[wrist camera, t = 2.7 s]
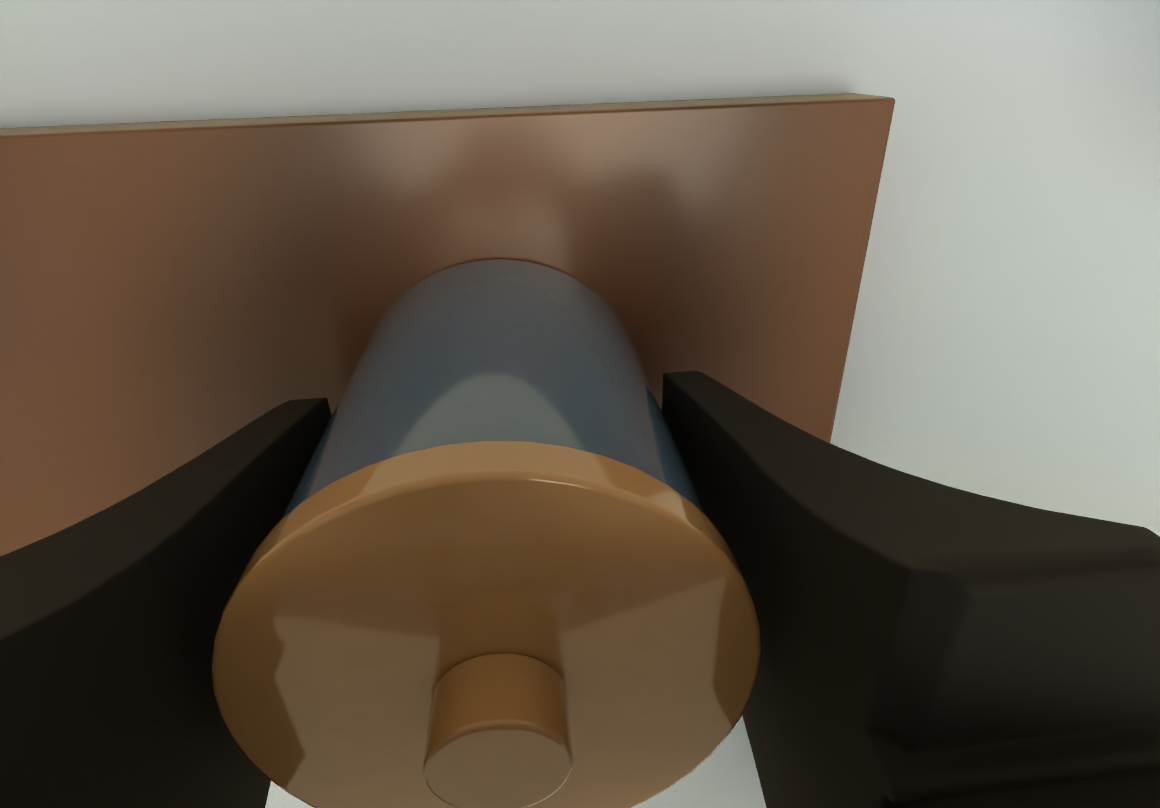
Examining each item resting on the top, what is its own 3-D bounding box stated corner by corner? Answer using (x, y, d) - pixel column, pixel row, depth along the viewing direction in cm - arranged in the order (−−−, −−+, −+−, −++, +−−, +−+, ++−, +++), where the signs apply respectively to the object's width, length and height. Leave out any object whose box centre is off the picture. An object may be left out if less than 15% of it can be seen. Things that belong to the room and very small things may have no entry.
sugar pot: (678, 448, 14) (840, 824, 7) (443, 540, 14) (385, 968, 7) (582, 201, 11) (697, 427, 4) (296, 325, 11) (5, 696, 5)
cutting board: (854, 92, 12) (896, 97, 11) (786, 513, 17) (809, 552, 15) (-310, 141, 10) (-429, 153, 9) (-16, 585, 15) (-65, 634, 14)
